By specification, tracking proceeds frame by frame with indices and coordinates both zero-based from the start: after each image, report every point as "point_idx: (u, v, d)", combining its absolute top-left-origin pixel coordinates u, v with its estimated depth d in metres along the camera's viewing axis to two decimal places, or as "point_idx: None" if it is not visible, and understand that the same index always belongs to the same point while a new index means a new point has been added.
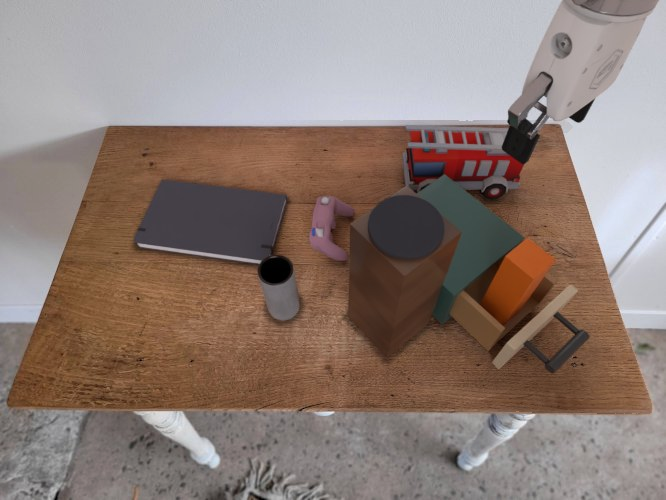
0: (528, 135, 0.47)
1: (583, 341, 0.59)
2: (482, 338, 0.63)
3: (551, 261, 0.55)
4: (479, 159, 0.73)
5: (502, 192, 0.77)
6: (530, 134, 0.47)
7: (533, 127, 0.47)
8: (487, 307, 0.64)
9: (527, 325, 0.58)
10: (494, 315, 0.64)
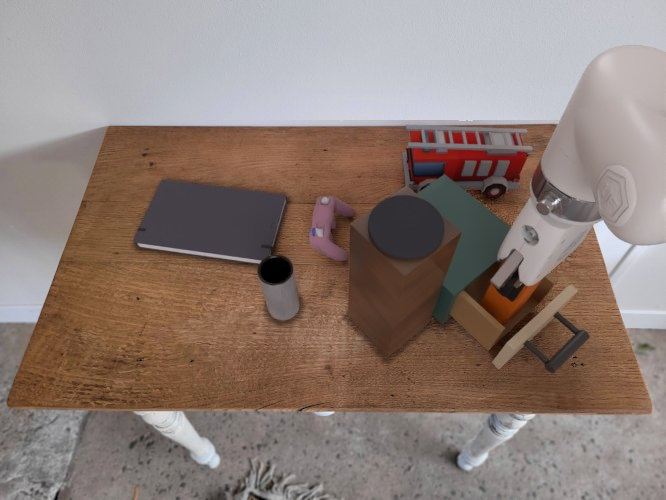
0: (514, 287, 0.54)
1: (583, 341, 0.59)
2: (482, 338, 0.63)
3: None
4: (479, 159, 0.73)
5: (502, 192, 0.77)
6: (516, 287, 0.54)
7: (517, 283, 0.54)
8: (487, 307, 0.64)
9: (527, 325, 0.58)
10: (494, 315, 0.64)
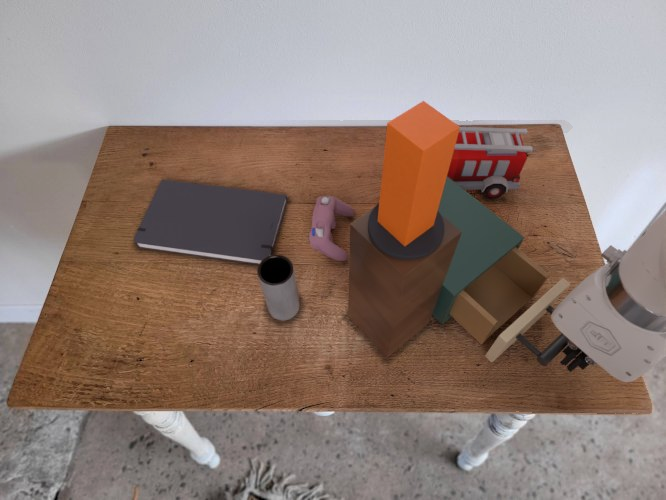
0: (569, 343, 0.56)
1: None
2: (475, 332, 0.63)
3: (453, 129, 0.37)
4: (479, 159, 0.73)
5: (502, 192, 0.77)
6: (568, 342, 0.56)
7: None
8: (386, 218, 0.47)
9: (519, 318, 0.59)
10: (394, 229, 0.47)
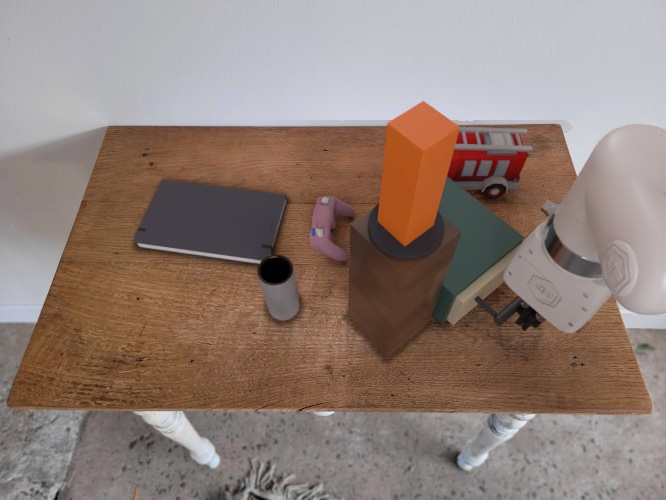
0: (521, 302, 0.59)
1: None
2: None
3: (453, 129, 0.37)
4: (479, 159, 0.73)
5: (502, 192, 0.77)
6: (520, 301, 0.59)
7: None
8: (386, 218, 0.47)
9: (477, 280, 0.62)
10: (394, 229, 0.47)
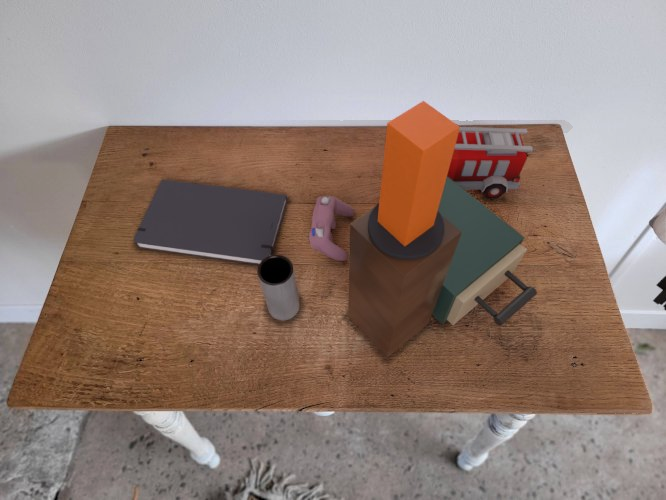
0: None
1: (530, 296, 0.63)
2: None
3: (453, 129, 0.37)
4: (479, 159, 0.73)
5: (502, 192, 0.77)
6: None
7: None
8: (386, 218, 0.47)
9: (477, 280, 0.62)
10: (394, 229, 0.47)
